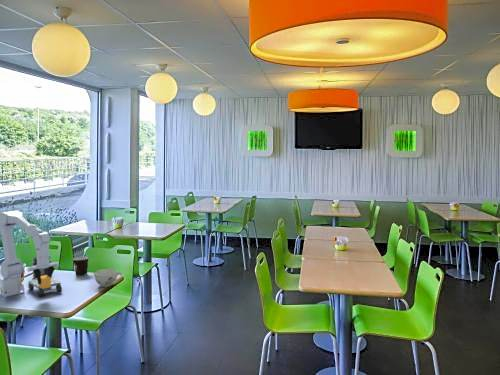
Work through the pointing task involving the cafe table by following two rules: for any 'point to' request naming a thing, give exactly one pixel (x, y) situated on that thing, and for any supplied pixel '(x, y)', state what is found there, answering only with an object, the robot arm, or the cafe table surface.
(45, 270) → the supplement container
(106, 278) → the teacup
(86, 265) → the coffee mug
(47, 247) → the robot arm
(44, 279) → the chock
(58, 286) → the trolley
